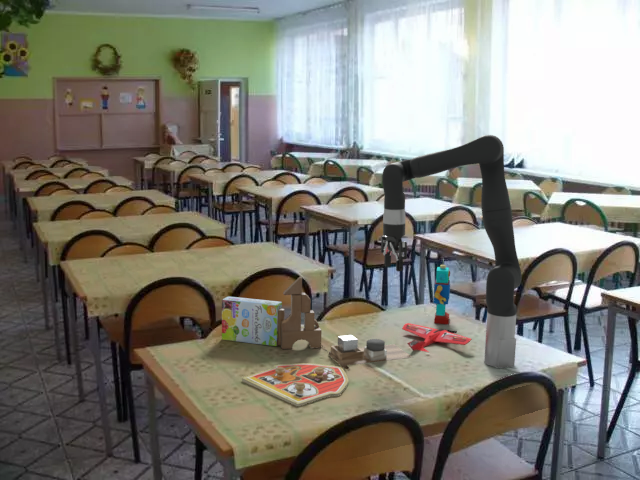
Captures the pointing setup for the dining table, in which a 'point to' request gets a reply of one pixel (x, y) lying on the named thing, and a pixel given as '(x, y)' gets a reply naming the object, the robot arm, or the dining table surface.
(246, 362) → the dining table surface
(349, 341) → the white block
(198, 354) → the dining table surface
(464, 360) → the dining table surface
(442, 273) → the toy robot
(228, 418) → the dining table surface
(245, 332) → the snack box
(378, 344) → the gray push button
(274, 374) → the knob puzzle
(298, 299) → the wooden toy
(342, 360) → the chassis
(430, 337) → the toy airplane
